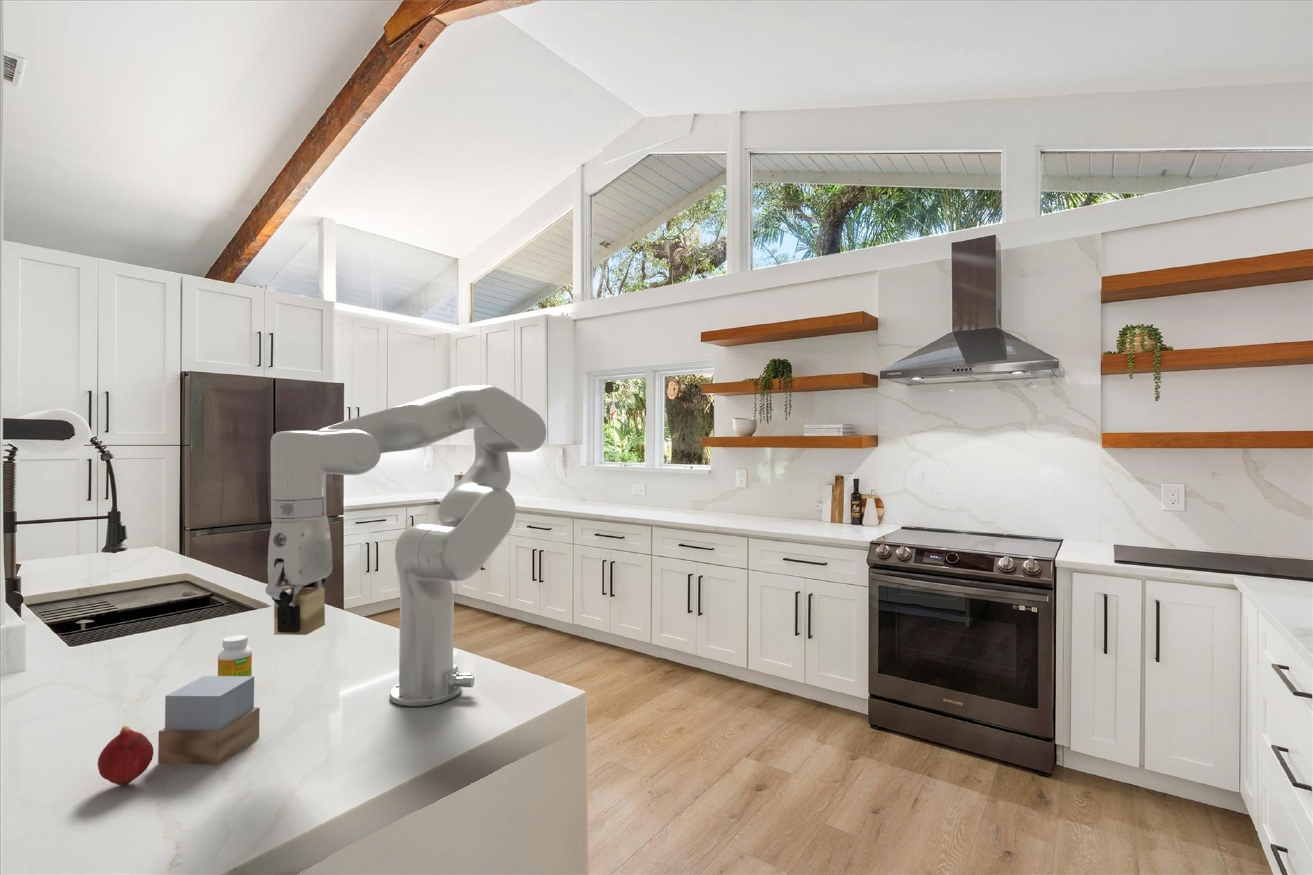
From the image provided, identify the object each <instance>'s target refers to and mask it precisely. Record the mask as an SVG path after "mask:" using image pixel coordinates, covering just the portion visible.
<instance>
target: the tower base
mask: <svg viewBox="0 0 1313 875" xmlns="http://www.w3.org/2000/svg"><path fill="white" fill-rule="evenodd" d="M260 713H261V712H260V707H255V706H254V708H253V709H251V710H250V711H248V712H247V713H245V714H244V715H242V716H241V717H239V718H238V719H236V720H235V721H233V722H232V723H230V724H229V725H227V726H226V727H224V728H222V729H221V730H165V727H164V728H162V729H160V730H159V731H158V739H157V740H158V741H157V742H158V745H157V748H158V750H157V751H158V753H157V754H158V755H157V757H158V758H157V764H158V763H162V764H163V763H164V764H163V765H187V766H188V765H190V766H191V765H193V766H219V765H221V764H223V763H224V762H225V761H227V760H228V759H229V758H231V757H232V756H234V755H236V754H237V753H238V752H240V751H241V750H243V749H245V747H247V746H248V745H250V744H251V743H253V742H255V741H256V740H258V739H259V738H260ZM162 764H161V765H162Z"/></svg>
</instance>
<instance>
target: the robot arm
mask: <svg viewBox="0 0 1313 875" xmlns="http://www.w3.org/2000/svg"><path fill="white" fill-rule="evenodd" d="M470 429H471V430H472V429H473V442H474V451H475V453H474V460H473V463H472V465H471V466H470V467H469V469H468V470H467V471H466V472H465V474H464V475H463V476H462V477H461V478H460V479H459V480H458V481H457V483H455V485H453V487H452V488H451V489H450V490H449V491H448V492H447V493H446V494H445V496H444V497H443V498H442V500H441V501H440V503H439V505H438V508H437V515H436V516H437V519H438V521H439V523H440V524H441V525H440V524H433V523H419V524H416V525H413V526H410V527H408V528H406V529H405V530H404V531H403V532H402V533H401V535H400V536H399V537H398V539H397V542H396V544H395V548H394V549H395V550H394V559H395V560H394V561H395V567H396V571H397V576H398V586H399V646H398V648H399V653H398V654H399V655H398V656H399V661H398V663H399V664H398V681H399V682H398V683H397V684H396V685H394V686H393V687H392V688H391V689H390V691H389V699H390V701H391V702H392V703H394V704H396V705H399V706H403V707H404V706H405V707H426V706H433V705H437V704H442V703H444V701H445V702H447V701H449V699H450V700H451V699H453V697H454V698H456V697H457V696H458V695H459V694H460V693H461V691H462V688H473V687H474V685H475V676H474V675H473V673H472V672H463V673H461V671H459V664H454V607H455V597H454V590H453V586H452V582H461V581H466V580H468V579H470V578H471V577H473V576H474V575H476V573H478V572H479V571H480V570H481V568H482V567H483V566H484V565H485V563H487V561H488V560H489V558H490V557H491V556H492V554H493V553H494V552H495V551H496V549H498V547H499V545H500V544H501V543H502V542H503V540H504V539H505V538H506V536H507V535H508V534H509V532H510V530H511V529H512V526H513V524H514V521H515V518H516V511H517V510H516V509H517V508H516V502H515V499H514V497H513V496H512V495H511V494H510V492H508V491H507V489H508V486H509V484H510V482H511V476H512V475H511V474H512V473H511V469H510V463H509V462H510V461H509V456H508V453H531V452H534V451H536V450H538V449H540V448H541V447H542V446H543V444H544V442H545V441H546V439H547V427H546V424H545V421H544V420H543V418H542V417H541V415H540V414H539V413H537V411H535V410H534V409H533V408H531V407H529V406H528V405H526V404H525V403H524V402H521V401H520V400H519V399H517V398H515V397H514V396H513V395H511V394H509V393H508V392H506V391H505V390H503V389H501V388H499V387H496V386H495V385H494V386H493V385H490V384H489V385H488V384H480V385H466V386H465V385H464V386H458V387H457V386H456V387H453V388H449V389H446V390H444V391H441V392H438V393H435V394H432V395H429V396H427V397H424V398H420V399H417V400H414V401H411V402H407V403H405V404H401V405H397V406H393V407H389V408H386V409H383V410H379V411H376V412H372V413H369V414H365V415H361V416H357V417H353V418H351V419H347V420H343V421H340V422H338V423H334V424H332V425H328V426H326V427H322V428H321V429H317V430H286V431H285V430H284V431H283V430H282V431H277V432H275V433H274V434H273V435H272V436H271V439H270V497H271V498H270V509H271V510H270V512H271V513H270V520H271V525H270V532H269V538H268V551H267V552H268V553H267V577H268V582H267V585H266V587H265V593H266V594H267V595H269V597H271V599H272V601H273V602H274V601H275V606H276V607H277V630H278V632H280V633H296V632H298V631H300V605H297V600H298V593H299V587H303V588H324V584H325V582H326V578H328V577H329V576H330V575H331V574H332V572H333V548H332V547H333V546H332V537H331V536H332V535H331V531H330V530H331V528H330V524H329V518H328V515H327V475H341V476H359V475H362V474H363V475H364V474H365V473H367V472H370V471H372V470H373V469H374V468H375V467H376V466H377V465H378V463H379V461H380V459H381V454H385V453H387V454H388V453H392V452H403V451H412V450H417V449H422V448H424V447H427V446H431V445H432V444H435V443H437V442H439V441H442V440H444V439H447V438H449V437H452V436H454V435H456V434H458V433H461V432H464V431H466V430H470ZM289 589H291V594H290V596H289V594H288V593H287V592H286V590H289ZM456 695H457V696H456Z"/></svg>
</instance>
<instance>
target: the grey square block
mask: <svg viewBox="0 0 1313 875" xmlns="http://www.w3.org/2000/svg"><path fill="white" fill-rule="evenodd" d="M164 699H165V703H164V705H165V706H164V713H165V714H164V728H165V730H221V729H222V728H224V727H226V726H227V725H229V724H230V723H232V722H233V721H235V720H236V719H238V718H239V717H241V716H242V715H244V714H245V713H247V712H248V711H250V710H251V709H253V708H254V707H255V676H254V675H253V676H218V675H203V676H202V677H200V678H199V677H198V678H197V679H196V680H194V681H191V682H190V683H188V684H186V685H184V686H182V687H180V688H178V689H176V690H173V691H172V692H170V693H168V694H166V695H165V698H164Z"/></svg>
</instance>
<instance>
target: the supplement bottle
mask: <svg viewBox="0 0 1313 875" xmlns="http://www.w3.org/2000/svg"><path fill="white" fill-rule="evenodd" d="M248 642H249V638H248V635H244V634H243V635H242V634H240V635H239V634H238V635H231V636H227V637H224V638H223V639H222V648H223V649H222V650H221V651H219V653H218V655H217V676H252V672H253V671H252V670H253V667H252V663H253V650H252V648H251V647H249V646H247V645H248Z"/></svg>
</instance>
